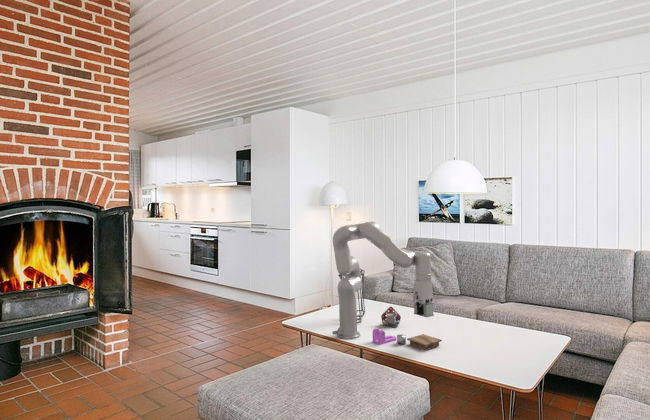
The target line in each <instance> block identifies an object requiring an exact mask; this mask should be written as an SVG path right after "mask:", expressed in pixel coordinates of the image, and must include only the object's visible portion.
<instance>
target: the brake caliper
mask: <svg viewBox="0 0 650 420" xmlns="http://www.w3.org/2000/svg"><path fill="white" fill-rule="evenodd" d="M380 318H381V323H382V325H381V327H382V328H385V327H387V328H388V327H389V328H390V327H395V328H396V327H398V326H399V324H400V322H401V315H400V313H398V312H397V310H396V309H395V308H394V307H392V306H389V307H388V308H387V309H386V310H385V311H384V312H383V313H382V315H381V316H380Z"/></svg>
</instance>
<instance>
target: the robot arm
mask: <svg viewBox="0 0 650 420" xmlns="http://www.w3.org/2000/svg"><path fill="white" fill-rule="evenodd" d="M380 227H381V226H380V225H379V223H377V222H375V221H366V222H363V223H357V224H347V225H343V226H340V227H339V228H337V230H336V231H335V232H334V234H333V236H332V246H333V253H334V259H335V266H336V271H337V272H338V275H339V274H341V275H345V276H344V278H343V279H342V280H341V279H340V281H339V282H338V284H337V287H336V288H337V295H338V306H339V307H338V309H339V310H338V311H339V312H338V313H339V315H338V317H339V319H338V320H339V326H338V328H337V329H336V330H332V332H331V333H332V335H333V336H335V335H336V336H337V337H338V338H340V339H344V340H351V339H353V340H354V339H357V338H359V337H360V336H361V333H360V332H359V331H358V323H357V322H358V320H357V318H358V317H357V315H358V314H357V313H358V311H357V310H358V306H357V305H358V304H357V298H356V297H357V296H356V293H358V292H359V291H360V288H361V286H362V287H363V283H362V275H361V273H360V271H361V270H360V269H361V266H360V263H359V260H357V258H356V257H354V256H353V255H352V256H351V251H350V246H349V244H348V242H351V241H355V240H362V239H366V240H367V241H368V242H369V243H371V244H372V245H374V246H375V247H377V248H378V249H379V250H381V252H382V253H383V254H384V255H385V256H386V257H387V258H388V259H389V260H390V261H392V262H393V263H394V264H396V265H397V266H398V267H400V268H402V269H408V268H410V267H413V266H415V279H414V282H413V292H412V302H413V304H414V303H415V304H416V306H417V314H420V315H423V307H422V302H423V301H424V302H428V303H432V302H433V300H434V298H435V296H434V288H433V282H432V261H431V258H432V257H431V253H429V252H425V251H424V252H418V251H416V252H415V251H410V250H409V251H403V250H402V249H401V248H400V247H398V246H397V245H396V244H395V243H394V242H393V239H392V237H391V236H390V235H389V234H387V233H386V232H385V231H384V230H382V229H381V228H380ZM361 289H362V288H361ZM419 301H420V303H419ZM420 315H419V316H420Z"/></svg>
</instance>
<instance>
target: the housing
mask: <svg viewBox="0 0 650 420" xmlns="http://www.w3.org/2000/svg"><path fill="white" fill-rule="evenodd" d="M419 303H420V301H419ZM422 307H423V315H420V314H417V306H416V304H415V303H414V302H413V308H414V309H413V310H414V311H413V314H414V315H417V316H420V317H424V318H431V317H434V315H435V314H434V303H432V302H431V303H428V302H425V300H424V301H423V302H422Z"/></svg>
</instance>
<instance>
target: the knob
mask: <svg viewBox="0 0 650 420" xmlns="http://www.w3.org/2000/svg"><path fill="white" fill-rule="evenodd" d="M396 344H397V345H398V344H399V345H400V346H405V345H406V344H407V337H406V335H405V334H397V335H396ZM399 345H398V346H399Z"/></svg>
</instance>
